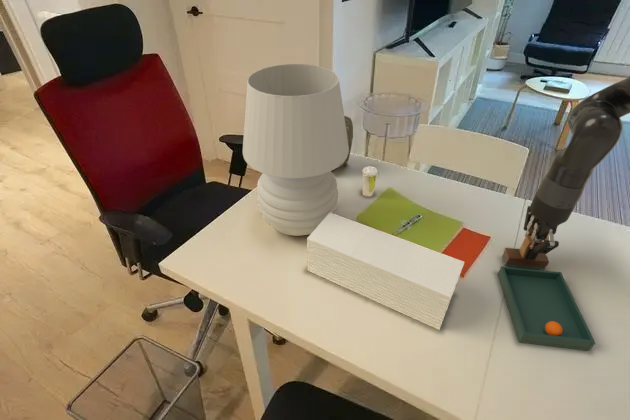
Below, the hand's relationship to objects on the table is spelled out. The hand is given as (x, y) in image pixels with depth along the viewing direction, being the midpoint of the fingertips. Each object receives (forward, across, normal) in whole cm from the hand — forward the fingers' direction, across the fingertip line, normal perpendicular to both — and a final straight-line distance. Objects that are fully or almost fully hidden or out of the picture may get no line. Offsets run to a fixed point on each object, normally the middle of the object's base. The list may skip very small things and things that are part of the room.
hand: (527, 254), depth 89 cm
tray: (+4, -13, 0) cm, 14 cm away
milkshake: (+4, +24, +38) cm, 45 cm away
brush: (+3, 0, 0) cm, 3 cm away
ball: (+1, -20, 0) cm, 20 cm away
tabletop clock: (+4, +36, +52) cm, 63 cm away
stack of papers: (+4, -11, +35) cm, 37 cm away
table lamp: (+4, +8, +57) cm, 58 cm away
